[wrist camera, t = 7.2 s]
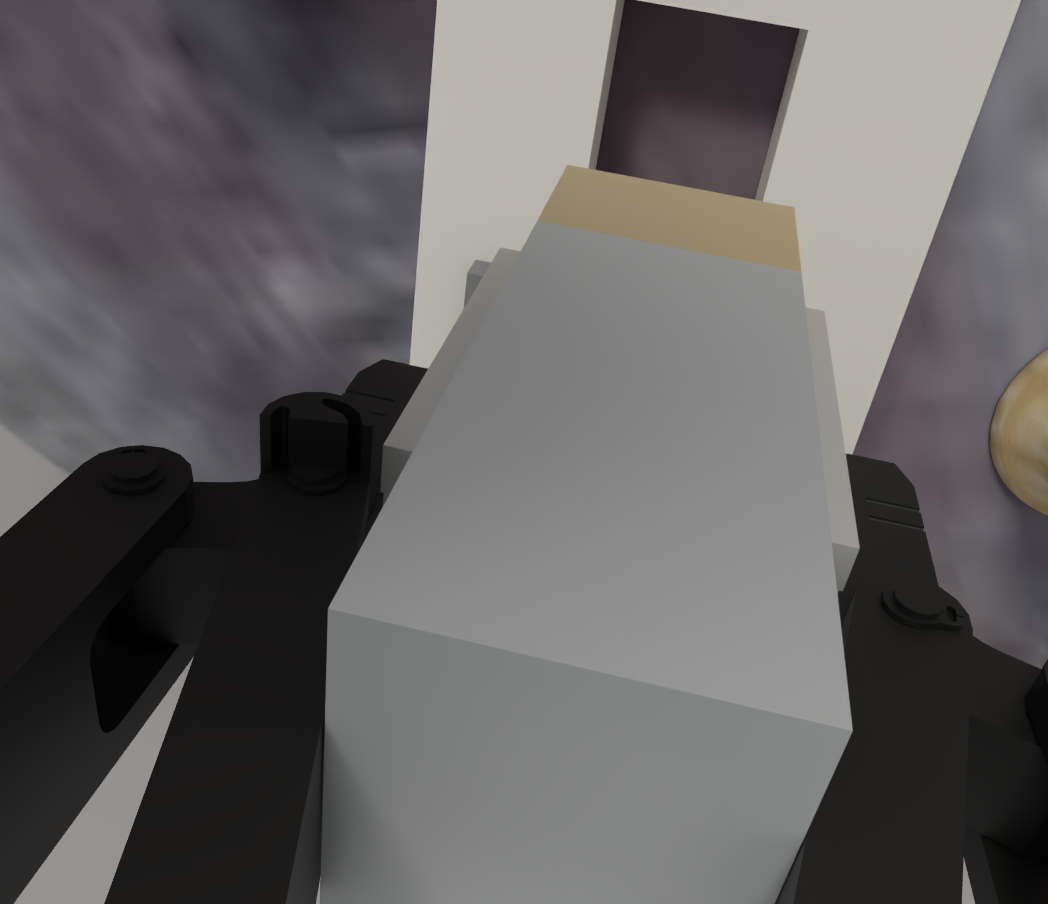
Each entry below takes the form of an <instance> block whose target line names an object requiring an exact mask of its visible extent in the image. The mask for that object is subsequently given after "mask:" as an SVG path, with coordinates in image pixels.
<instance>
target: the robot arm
mask: <svg viewBox="0 0 1048 904" xmlns="http://www.w3.org/2000/svg"><path fill="white" fill-rule="evenodd" d="M520 252H521V251H516V250H511V249H506V248H501V247H500V249H499V250H498V252H497V254H496V255H495V257H494V259H493V260H492V262H491V264H490V265H489V267H488V269H487V271H486V272H485V274H484V276H483V277H482V279H481V281H480V282H479V284H478V286H477V287H476V289H475V291H474V292H473V294H472V296H471V298H470V299H469V301H468V303H467V304H466V306H465V308H464V309H463V311H462V313H461V314H460V316H459V318H458V319H457V321H456V323H455V325H454V326H453V328H452V330H451V331H450V333H449V335H448V336H447V338H446V340H445V341H444V343H443V345H442V347H441V348H440V350H439V352H438V353H437V355H436V357H435V358H434V360H433V362H432V363H431V365H430V367H429V368H428V369H427V368H423V367H418V366H413V365H408V364H403V363H399V362H394V361H389V360H384V359H383V360H381V361H379V362H377V363H375V364H373V365H371V366H369V367H367V368H365V369H364V370H362V371H360V372H358V374H357V375H356V377H355V378H354V379H353V381H352V382H351V383H350V385H349V386H348V388H347V389H346V393H343V395H342V396H341V395H336V394H331V393H326V392H302V393H297V394H293V395H288V396H283V397H281V398H280V399H278V400H276V401H274V402H272V403H270V404H268V405H267V406H266V408H265V409H264V410H263V411H262V413H261V414H260V454H261V473H260V476H259V479H257V480H252V481H247V482H193V475H192V470H191V465H190V464H189V463H188V462H187V461H186V460H185V459H184V458H183V457H182V456H181V455H180V454H177V453H175V452H172V451H170V450H167V449H165V448H160V447H152V446H144V445H140V446H127V447H119V448H116V449H113V450H109V451H106V452H103V453H99V454H98V455H96V456H94V457H93V458H91V459H90V460H88V461H86V462H85V463H83V464H82V465H81V466H80V467H79V468H78V469H76V470H75V471H74V472H73V473H72V474H71V475H70V476H68V477H67V478H66V479H65V480H64V481H63V482H62V483H61V484H60V485H58V486H57V487H56V488H55V489H54V490H53V491H52V492H50V493H49V494H48V495H47V496H46V497H45V498H44V499H43V500H42V501H40V502H39V503H38V504H37V505H36V506H35V507H34V508H32V509H31V510H30V511H29V512H28V513H27V514H26V515H25V516H23V517H22V518H21V519H20V520H19V521H18V522H17V523H16V524H14V525H13V526H12V527H11V528H10V529H9V530H8V531H7V532H6V533H4V534H3V535H2V536H1V537H0V904H14V902H15V901H16V899H17V898H18V897H19V895H20V894H21V893H22V891H23V890H24V888H25V887H26V886H27V884H28V883H29V882H30V880H31V879H32V878H33V876H34V875H35V873H36V872H37V871H38V869H39V868H40V867H41V865H42V864H43V862H44V861H45V860H46V858H47V857H48V856H49V854H50V853H51V851H52V850H53V849H54V847H55V846H56V845H57V843H58V842H59V840H60V839H61V838H62V836H63V835H64V834H65V832H66V831H67V829H68V828H69V827H70V825H71V824H72V823H73V821H74V820H75V819H76V817H77V816H78V814H79V813H80V812H81V810H82V809H83V807H84V806H85V805H86V803H87V802H88V801H89V799H90V798H91V796H92V795H93V794H94V792H95V791H96V790H97V788H98V787H99V786H100V784H101V783H102V781H103V780H104V779H105V777H106V776H107V774H108V773H109V772H110V770H111V769H112V768H113V766H114V765H115V764H116V762H117V761H118V760H119V758H120V757H121V755H122V754H123V753H124V751H125V750H126V749H127V747H128V746H129V744H130V743H131V742H132V740H133V739H134V738H135V736H136V735H137V733H138V732H139V731H140V729H141V728H142V727H143V725H144V724H145V722H146V721H147V720H148V718H149V717H150V716H151V714H152V713H153V712H154V710H155V709H156V707H157V706H158V705H159V703H160V702H161V700H162V699H163V698H164V696H165V695H166V694H167V692H168V691H169V690H170V688H171V687H172V685H173V684H174V683H175V681H176V680H177V679H178V677H179V676H180V674H181V673H182V672H183V670H184V669H185V667H186V666H187V665H188V663H189V662H190V661H191V659H192V658H193V657H194V658H193V661H192V663H191V666H190V669H189V672H188V675H187V677H186V680H185V683H184V686H183V688H182V691H181V694H180V697H179V699H178V702H177V705H176V708H175V711H174V713H173V716H172V719H171V721H170V724H169V727H168V730H167V733H166V735H165V738H164V741H163V743H162V747H161V749H160V752H159V755H158V757H157V760H156V763H155V766H154V768H153V771H152V774H151V777H150V779H149V782H148V785H147V788H146V791H145V793H144V796H143V799H142V801H141V804H140V807H139V810H138V812H137V815H136V818H135V821H134V823H133V826H132V829H131V832H130V835H129V837H128V840H127V843H126V845H125V848H124V851H123V854H122V856H121V859H120V862H119V865H118V868H117V870H116V873H115V876H114V879H113V881H112V884H111V887H110V890H109V892H108V895H107V898H106V901H105V903H104V904H316V898H317V893H318V887H319V881H320V875H321V845H322V809H323V773H324V736H325V700H326V664H327V628H328V608H329V606H330V604H331V602H332V600H333V598H334V597H335V595H336V593H337V591H338V589H339V587H340V585H341V584H342V582H343V580H344V578H345V576H346V574H347V572H348V571H349V569H350V567H351V565H352V563H353V561H354V559H355V558H356V556H357V554H358V552H359V550H360V548H361V547H362V545H363V543H364V541H365V539H366V537H367V535H368V534H369V532H370V530H371V528H372V526H373V524H374V522H375V521H376V519H377V517H378V515H379V513H380V511H381V509H382V508H383V506H384V504H385V502H386V500H387V498H388V496H389V495H390V493H391V491H392V489H393V487H394V485H395V483H396V482H397V480H398V478H399V476H400V474H401V472H402V470H403V469H404V467H405V465H406V463H407V461H408V459H409V458H410V456H411V454H412V452H413V450H414V448H415V446H416V445H417V443H418V441H419V439H420V437H421V435H422V433H423V432H424V430H425V428H426V426H427V424H428V422H429V420H430V419H431V417H432V415H433V413H434V411H435V409H436V407H437V406H438V404H439V402H440V400H441V398H442V396H443V394H444V393H445V391H446V389H447V387H448V385H449V383H450V381H451V380H452V378H453V376H454V374H455V372H456V370H457V368H458V367H459V365H460V363H461V361H462V359H463V357H464V356H465V354H466V352H467V350H468V348H469V346H470V344H471V343H472V341H473V339H474V337H475V335H476V333H477V331H478V330H479V328H480V326H481V324H482V322H483V320H484V318H485V317H486V315H487V313H488V311H489V309H490V307H491V305H492V304H493V302H494V300H495V298H496V296H497V294H498V292H499V291H500V289H501V287H502V285H503V283H504V281H505V279H506V278H507V276H508V274H509V272H510V270H511V268H512V267H513V265H514V263H515V261H516V259H517V257H518V255H519V254H520ZM805 308H806V317H807V326H808V335H809V344H810V353H811V362H812V370H813V379H814V388H815V397H816V406H817V415H818V424H819V433H820V442H821V451H822V460H823V469H824V478H825V487H826V496H827V505H828V514H829V523H830V532H831V541H832V550H833V559H834V567H835V576H836V585H837V594H838V603H839V612H840V621H841V630H842V639H843V648H844V657H845V666H846V675H847V684H848V693H849V702H850V711H851V720H852V729H853V732H852V734H851V736H850V738H849V740H848V743H847V745H846V747H845V749H844V751H843V754H842V756H841V758H840V760H839V762H838V765H837V767H836V769H835V771H834V773H833V776H832V778H831V780H830V782H829V784H828V787H827V789H826V791H825V793H824V795H823V798H822V800H821V802H820V804H819V807H818V809H817V811H816V813H815V815H814V818H813V820H812V822H811V824H810V826H809V829H808V831H807V833H806V835H805V837H804V840H803V842H802V844H801V846H800V848H799V851H798V853H797V855H796V857H795V859H794V862H793V864H792V866H791V868H790V870H789V873H788V875H787V877H786V879H785V881H784V884H783V886H782V888H781V890H780V892H779V895H778V897H777V899H776V901H775V903H774V904H962V882H963V857H964V859H965V864H966V867H967V871H968V876H969V879H970V884H971V888H972V892H973V896H974V900H975V904H1048V660H1047V661H1046V663H1045V664H1044V666H1043V668H1042V670H1041V669H1039V668H1037V667H1034V666H1032V665H1030V664H1027V663H1025V662H1023V661H1021V660H1018V659H1016V658H1014V657H1011V656H1009V655H1007V654H1005V653H1002V652H1000V651H998V650H996V649H994V648H992V647H990V646H988V645H987V644H985V643H983V642H981V641H980V640H978V639H977V638H976V637H974V636H973V635H972V634H973V629H972V625H971V621H970V617H969V614H968V613H967V612H966V611H965V609H964V608H963V607H962V606H961V604H960V603H959V602H958V600H957V599H955V598H954V597H953V596H951V595H950V594H949V593H947V592H946V591H944V590H943V589H942V588H940V587H939V586H938V582H937V578H936V574H935V570H934V566H933V561H932V557H931V553H930V549H929V545H928V541H927V537H926V533H925V532H924V531H923V529H924V525H923V521H922V517H921V513H919V509H920V508H919V504H918V500H917V496H916V492H915V488H914V486H913V485H912V483H911V482H910V481H909V480H908V479H907V477H906V476H905V475H904V474H903V473H902V472H901V470H900V469H899V468H898V467H897V466H896V465H895V464H894V463H889V462H885V461H880V460H875V459H870V458H866V457H861V456H856V455H851V454H846V453H845V446H844V439H843V433H842V426H841V419H840V412H839V406H838V399H837V392H836V386H835V379H834V372H833V365H832V359H831V352H830V345H829V339H828V332H827V325H826V318H825V312H824V311H822V310H817V309H812V308H807V307H805Z"/></svg>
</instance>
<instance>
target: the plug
mask: <svg viewBox="0 0 1048 904" xmlns="http://www.w3.org/2000/svg"><path fill="white" fill-rule="evenodd" d="M852 732H853V729H852V720H851V711H850V702H849V693H848V684H847V675H846V666H845V657H844V648H843V639H842V630H841V621H840V612H839V603H838V594H837V585H836V576H835V567H834V559H833V550H832V541H831V532H830V523H829V514H828V505H827V496H826V487H825V478H824V469H823V460H822V451H821V442H820V433H819V424H818V415H817V406H816V397H815V388H814V379H813V370H812V362H811V353H810V344H809V335H808V326H807V317H806V308H805V299H804V290H803V281H802V272H801V263H800V254H799V245H798V236H797V227H796V218H795V209H794V207H791V206H785V205H780V204H775V203H769V202H764V201H759V200H753V199H748V198H743V197H737V196H732V195H727V194H721V193H716V192H711V191H705V190H700V189H695V188H689V187H684V186H679V185H673V184H668V183H663V182H657V181H652V180H647V179H641V178H636V177H631V176H625V175H620V174H615V173H609V172H604V171H599V170H593V169H588V168H583V167H577V166H572V165H567V166H566V168H565V170H564V172H563V174H562V176H561V177H560V179H559V181H558V183H557V185H556V187H555V189H554V190H553V192H552V194H551V196H550V198H549V200H548V202H547V203H546V205H545V207H544V209H543V211H542V213H541V215H540V216H539V218H538V220H537V222H536V224H535V226H534V228H533V229H532V231H531V233H530V235H529V237H528V239H527V241H526V242H525V244H524V246H523V248H522V250H521V252H520V254H519V255H518V257H517V259H516V261H515V263H514V265H513V267H512V268H511V270H510V272H509V274H508V276H507V278H506V279H505V281H504V283H503V285H502V287H501V289H500V291H499V292H498V294H497V296H496V298H495V300H494V302H493V304H492V305H491V307H490V309H489V311H488V313H487V315H486V317H485V318H484V320H483V322H482V324H481V326H480V328H479V330H478V331H477V333H476V335H475V337H474V339H473V341H472V343H471V344H470V346H469V348H468V350H467V352H466V354H465V356H464V357H463V359H462V361H461V363H460V365H459V367H458V368H457V370H456V372H455V374H454V376H453V378H452V380H451V381H450V383H449V385H448V387H447V389H446V391H445V393H444V394H443V396H442V398H441V400H440V402H439V404H438V406H437V407H436V409H435V411H434V413H433V415H432V417H431V419H430V420H429V422H428V424H427V426H426V428H425V430H424V432H423V433H422V435H421V437H420V439H419V441H418V443H417V445H416V446H415V448H414V450H413V452H412V454H411V456H410V458H409V459H408V461H407V463H406V465H405V467H404V469H403V470H402V472H401V474H400V476H399V478H398V480H397V482H396V483H395V485H394V487H393V489H392V491H391V493H390V495H389V496H388V498H387V500H386V502H385V504H384V506H383V508H382V509H381V511H380V513H379V515H378V517H377V519H376V521H375V522H374V524H373V526H372V528H371V530H370V532H369V534H368V535H367V537H366V539H365V541H364V543H363V545H362V547H361V548H360V550H359V552H358V554H357V556H356V558H355V559H354V561H353V563H352V565H351V567H350V569H349V571H348V572H347V574H346V576H345V578H344V580H343V582H342V584H341V585H340V587H339V589H338V591H337V593H336V595H335V597H334V598H333V600H332V602H331V604H330V606H329V608H328V628H327V664H326V700H325V736H324V773H323V809H322V845H321V881H320V882H321V883H320V904H774V903H775V901H776V899H777V897H778V895H779V892H780V890H781V888H782V886H783V884H784V881H785V879H786V877H787V875H788V873H789V870H790V868H791V866H792V864H793V862H794V859H795V857H796V855H797V853H798V851H799V848H800V846H801V844H802V842H803V840H804V837H805V835H806V833H807V831H808V829H809V826H810V824H811V822H812V820H813V818H814V815H815V813H816V811H817V809H818V807H819V804H820V802H821V800H822V798H823V795H824V793H825V791H826V789H827V787H828V784H829V782H830V780H831V778H832V776H833V773H834V771H835V769H836V767H837V765H838V762H839V760H840V758H841V756H842V754H843V751H844V749H845V747H846V745H847V743H848V740H849V738H850V736H851V734H852Z"/></svg>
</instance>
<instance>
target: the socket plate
mask: <svg viewBox="0 0 1048 904" xmlns="http://www.w3.org/2000/svg"><path fill="white" fill-rule="evenodd" d="M624 1H625V0H437V11H436V24H435V37H434V50H433V63H432V77H431V90H430V103H429V116H428V129H427V142H426V155H425V168H424V182H423V195H422V208H421V221H420V234H419V247H418V260H417V273H416V287H415V300H414V313H413V326H412V339H411V352H410V365H413V366H418V367H423V368H427V369H428V368H429V367H430V365H431V363H432V362H433V360H434V358H435V357H436V355H437V353H438V352H439V350H440V348H441V347H442V345H443V343H444V341H445V340H446V338H447V336H448V335H449V333H450V331H451V330H452V328H453V326H454V325H455V323H456V321H457V319H458V318H459V316H460V314H461V313H462V311H463V309H464V308H465V306H466V304H467V303H468V301H469V299H470V298H471V296H472V294H473V292H474V291H475V289H476V287H477V286H478V284H479V282H480V281H481V279H482V277H483V276H484V274H485V272H486V271H487V269H488V267H489V265H490V264H491V262H492V260H493V259H494V257H495V255H496V254H497V252H498V250H499V249H500V247H501V248H506V249H511V250H516V251H521V250H522V248H523V246H524V244H525V242H526V241H527V239H528V237H529V235H530V233H531V231H532V229H533V228H534V226H535V224H536V222H537V220H538V218H539V216H540V215H541V213H542V211H543V209H544V207H545V205H546V203H547V202H548V200H549V198H550V196H551V194H552V192H553V190H554V189H555V187H556V185H557V183H558V181H559V179H560V177H561V176H562V174H563V172H564V170H565V168H566V166H567V165H572V166H577V167H583V168H588V169H593V170H596V165H597V159H598V153H599V147H600V142H601V136H602V130H603V124H604V118H605V112H606V107H607V101H608V95H609V89H610V83H611V77H612V72H613V66H614V60H615V54H616V48H617V42H618V36H619V31H620V25H621V19H622V13H623V7H624ZM638 1H644V2H650V3H656V4H661V5H667V6H673V7H679V8H684V9H690V10H696V11H702V12H708V13H713V14H719V15H725V16H731V17H736V18H742V19H748V20H754V21H760V22H765V23H771V24H777V25H783V26H788V27H794V28H800V30H799V34H798V38H797V42H796V45H795V49H794V53H793V57H792V61H791V64H790V68H789V72H788V76H787V80H786V83H785V87H784V91H783V95H782V98H781V102H780V106H779V110H778V114H777V117H776V121H775V125H774V129H773V133H772V136H771V140H770V144H769V148H768V152H767V155H766V159H765V163H764V167H763V171H762V174H761V178H760V182H759V186H758V189H757V193H756V197H755V200H759V201H764V202H769V203H775V204H780V205H785V206H791V207H794V209H795V218H796V227H797V236H798V245H799V254H800V263H801V272H802V281H803V290H804V299H805V307H807V308H812V309H817V310H822V311H824V312H825V318H826V325H827V332H828V339H829V345H830V352H831V359H832V365H833V372H834V379H835V386H836V392H837V399H838V406H839V412H840V419H841V426H842V433H843V439H844V446H845V453H846V454H851V455H852V454H853V451H854V448H855V445H856V443H857V440H858V437H859V435H860V432H861V429H862V427H863V424H864V421H865V419H866V416H867V413H868V411H869V408H870V405H871V402H872V400H873V397H874V394H875V392H876V389H877V386H878V384H879V381H880V378H881V376H882V373H883V370H884V368H885V365H886V362H887V359H888V357H889V354H890V351H891V349H892V346H893V343H894V341H895V338H896V335H897V333H898V330H899V327H900V325H901V322H902V319H903V316H904V314H905V311H906V308H907V306H908V303H909V300H910V298H911V295H912V292H913V290H914V287H915V284H916V282H917V279H918V276H919V273H920V271H921V268H922V265H923V263H924V260H925V257H926V255H927V252H928V249H929V247H930V244H931V241H932V239H933V236H934V233H935V230H936V228H937V225H938V222H939V220H940V217H941V214H942V212H943V209H944V206H945V204H946V201H947V198H948V196H949V193H950V190H951V188H952V185H953V182H954V179H955V177H956V174H957V171H958V169H959V166H960V163H961V161H962V158H963V155H964V153H965V150H966V147H967V145H968V142H969V139H970V136H971V134H972V131H973V128H974V126H975V123H976V120H977V118H978V115H979V112H980V110H981V107H982V104H983V102H984V99H985V96H986V93H987V91H988V88H989V85H990V83H991V80H992V77H993V75H994V72H995V69H996V67H997V64H998V61H999V59H1000V56H1001V53H1002V50H1003V48H1004V45H1005V42H1006V40H1007V37H1008V34H1009V32H1010V29H1011V26H1012V24H1013V21H1014V18H1015V16H1016V13H1017V10H1018V7H1019V5H1020V2H1021V0H638Z"/></svg>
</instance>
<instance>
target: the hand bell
mask: <svg viewBox="0 0 1048 904" xmlns="http://www.w3.org/2000/svg"><path fill="white" fill-rule="evenodd" d="M990 449H991V456H992V459H993V463H994V466H995V468H996V470H997V472H998V474H999V476H1000V478H1001V479H1002V481H1003V482H1004V483H1005V485H1006V486H1007V487H1008V489H1009V490H1010V491H1011V492H1012V493H1013V494H1014V495H1015V496H1017V497H1018V498H1019V499H1020V500H1022V501H1023V502H1024V503H1025V504H1027V505H1028V506H1030V507H1032V508H1034V509H1035V510H1037V511H1039V512H1041V513H1043V514H1045V515H1048V349H1046V350H1045V351H1043V352H1042V353H1040V354H1039V355H1038V356H1036V357H1035V358H1034V359H1033V360H1031V361H1030V362H1029V363H1028V364H1027V365H1026V366H1025V367H1024V368H1023V369H1022V370H1021V371H1020V372H1019V373H1018V374H1017V375H1016V376H1015V378H1014V379H1013V380H1012V381H1011V382H1010V383H1009V385H1008V386H1007V388H1006V390H1005V391H1004V393H1003V394H1002V396H1001V397H1000V399H999V401H998V403H997V405H996V408H995V412H994V415H993V419H992V422H991V429H990Z"/></svg>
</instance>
